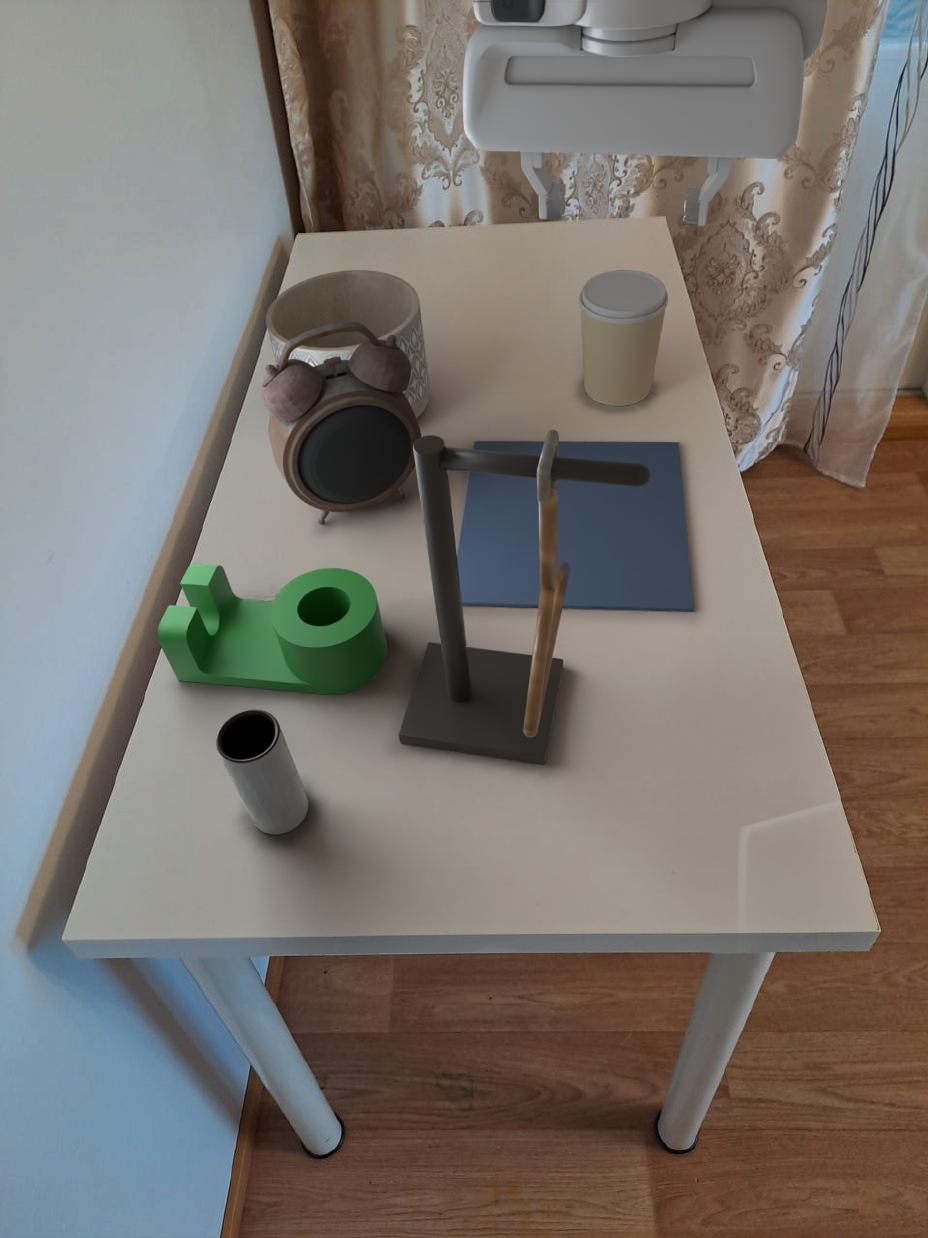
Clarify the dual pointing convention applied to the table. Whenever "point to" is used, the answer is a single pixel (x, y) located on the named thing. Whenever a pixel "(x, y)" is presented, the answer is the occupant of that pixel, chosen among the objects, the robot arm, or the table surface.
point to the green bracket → (277, 633)
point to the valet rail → (452, 672)
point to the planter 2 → (353, 299)
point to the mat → (580, 533)
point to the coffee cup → (621, 334)
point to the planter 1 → (263, 770)
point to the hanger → (546, 585)
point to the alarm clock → (342, 422)
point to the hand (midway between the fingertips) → (622, 218)
